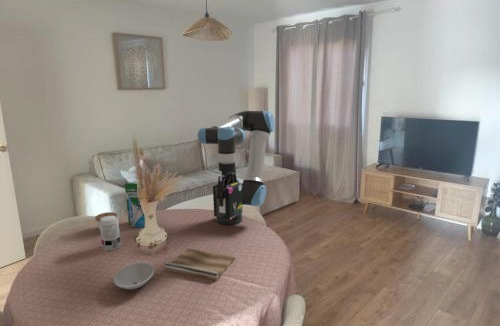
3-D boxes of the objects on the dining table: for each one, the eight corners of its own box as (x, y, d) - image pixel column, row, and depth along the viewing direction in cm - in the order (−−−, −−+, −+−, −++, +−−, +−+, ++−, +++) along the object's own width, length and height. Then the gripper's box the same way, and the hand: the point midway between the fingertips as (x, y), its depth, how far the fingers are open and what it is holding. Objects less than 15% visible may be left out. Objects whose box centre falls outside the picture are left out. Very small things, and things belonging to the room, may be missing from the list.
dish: (124, 273, 137) (123, 262, 136) (159, 272, 137) (158, 261, 136) (107, 300, 119) (106, 287, 118) (147, 299, 120) (146, 286, 119)
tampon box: (229, 220, 147) (229, 189, 144) (213, 216, 152) (212, 185, 148) (243, 212, 156) (242, 182, 153) (227, 209, 161) (226, 180, 158)
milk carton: (151, 220, 190) (147, 178, 185) (144, 227, 182) (140, 183, 176) (136, 220, 191) (132, 178, 186) (128, 226, 183) (124, 183, 177)
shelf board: (188, 250, 155) (187, 243, 155) (235, 259, 147) (235, 252, 146) (165, 269, 139) (164, 262, 138) (216, 280, 130) (216, 273, 130)
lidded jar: (103, 224, 186) (102, 208, 184) (121, 225, 184) (120, 209, 182) (92, 232, 175) (90, 216, 173) (111, 233, 174) (109, 217, 172)
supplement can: (98, 250, 157) (95, 220, 153) (111, 242, 164) (108, 214, 161) (112, 253, 154) (108, 222, 150) (124, 245, 161) (121, 216, 158)
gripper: (230, 156, 160) (231, 198, 165) (206, 167, 139) (208, 216, 144) (244, 157, 158) (245, 200, 163) (223, 168, 136) (224, 218, 141)
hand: (228, 207), depth 153 cm, fingers closed on tampon box, 12 cm apart
